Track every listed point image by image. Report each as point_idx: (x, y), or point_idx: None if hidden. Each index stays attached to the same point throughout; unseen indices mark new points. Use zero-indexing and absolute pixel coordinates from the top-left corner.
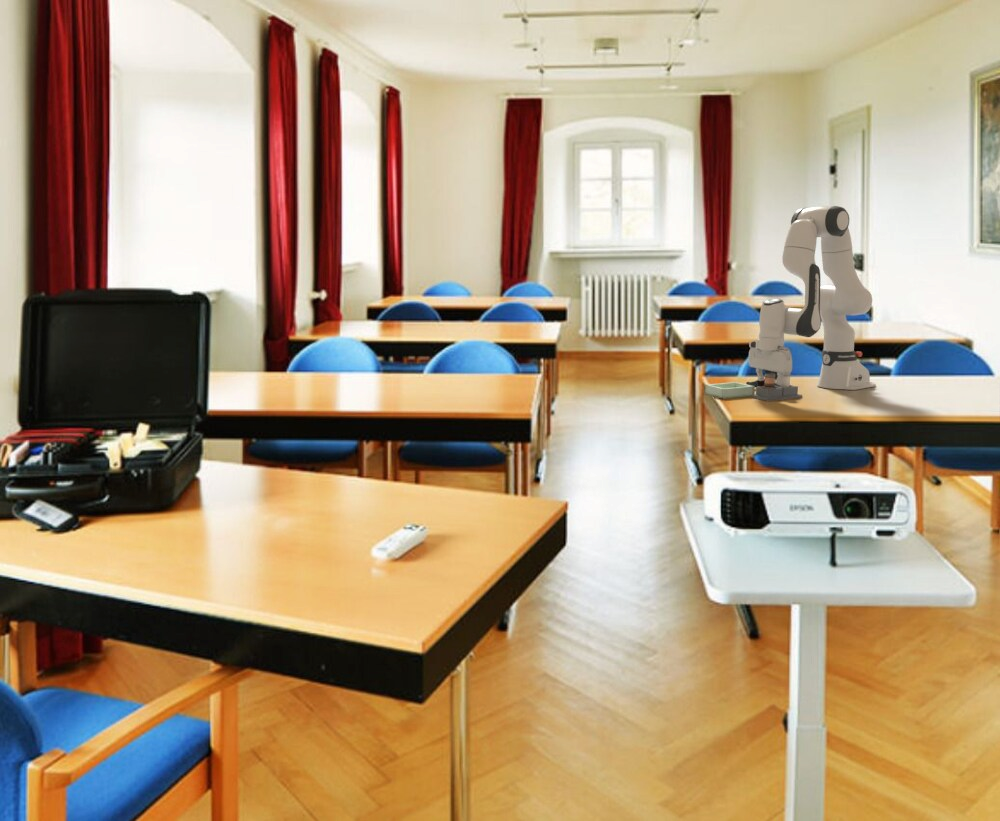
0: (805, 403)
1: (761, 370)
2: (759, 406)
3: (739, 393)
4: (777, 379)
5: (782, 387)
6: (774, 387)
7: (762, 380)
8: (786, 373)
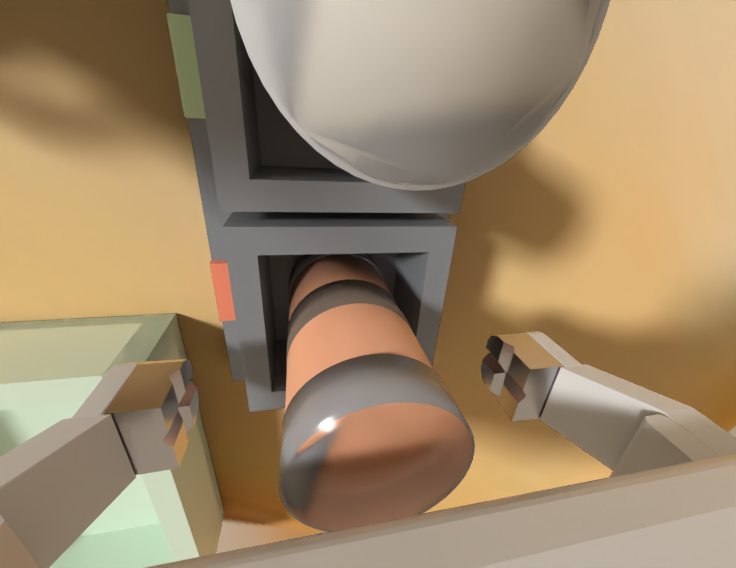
0: (638, 175)
1: (20, 554)
2: (494, 447)
3: (196, 453)
4: (560, 421)
5: (431, 203)
6: (390, 293)
7: (188, 377)
8: (559, 104)
